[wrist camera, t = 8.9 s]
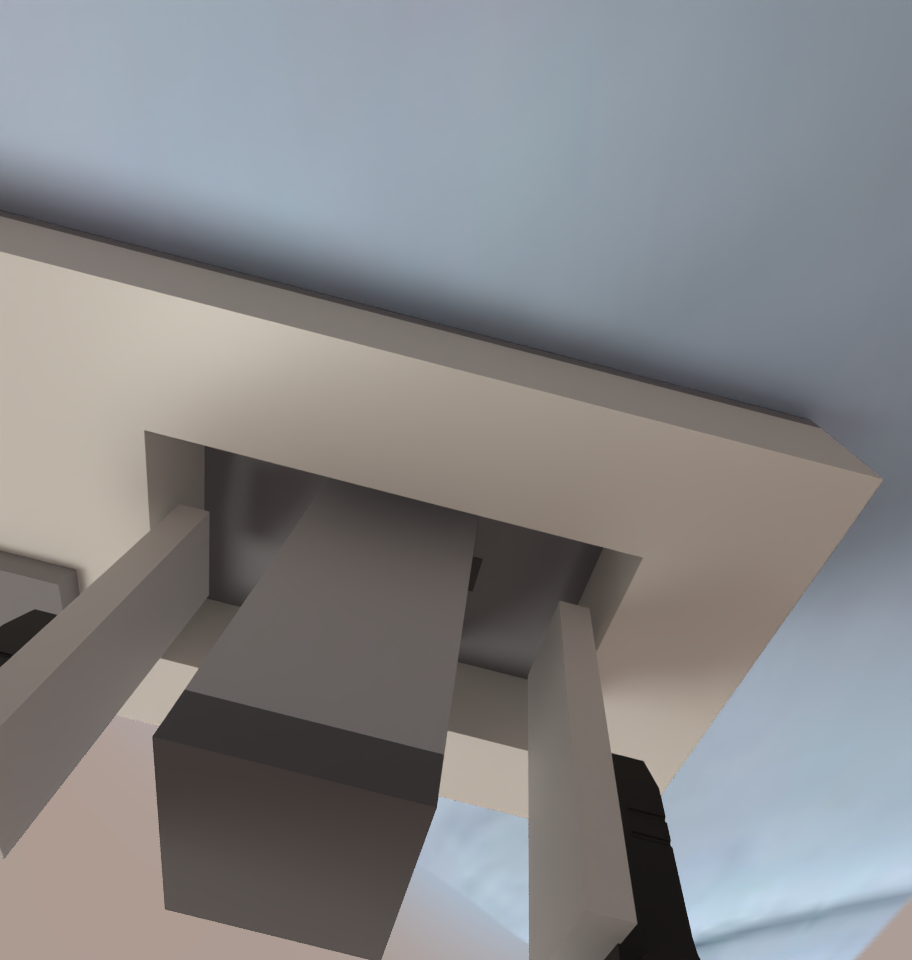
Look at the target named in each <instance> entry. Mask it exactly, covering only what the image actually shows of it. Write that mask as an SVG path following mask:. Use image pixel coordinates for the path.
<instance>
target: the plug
mask: <svg viewBox="0 0 912 960" xmlns="http://www.w3.org/2000/svg"><path fill="white" fill-rule="evenodd" d="M477 523H478V515H475V514H471V513H467V512H463V511H459V510H455V509H451V508H447V507H443V506H439V505H435V504H432V503H428V502H424V501H420V500H416V499H412V498H408V497H404V496H400V495H396V494H392V493H388V492H385V491H381V490H377V489H373V488H369V487H365V486H361V485H357V484H353V483H349V482H345V481H342V480H338V479H334V478H330V477H329V478H328V479H327V481H326V482H325V483H324V485H323V486H322V488H321V489H320V491H319V492H318V494H317V495H316V497H315V498H314V500H313V501H312V503H311V504H310V506H309V507H308V508H307V510H306V511H305V513H304V514H303V516H302V517H301V519H300V520H299V522H298V523H297V525H296V526H295V528H294V529H293V531H292V532H291V534H290V535H289V536H288V538H287V539H286V541H285V542H284V544H283V545H282V547H281V548H280V550H279V551H278V553H277V554H276V556H275V557H274V559H273V560H272V561H271V563H270V564H269V566H268V567H267V569H266V570H265V572H264V573H263V575H262V576H261V578H260V579H259V581H258V582H257V584H256V585H255V586H254V588H253V589H252V591H251V592H250V594H249V595H248V597H247V598H246V600H245V601H244V603H243V604H242V606H241V607H240V609H239V610H238V611H237V613H236V614H235V616H234V617H233V619H232V620H231V622H230V623H229V625H228V626H227V628H226V629H225V631H224V632H223V634H222V635H221V636H220V638H219V639H218V641H217V642H216V644H215V645H214V647H213V648H212V650H211V651H210V653H209V654H208V656H207V657H206V659H205V660H204V661H203V663H202V664H201V666H200V667H199V669H198V670H197V672H196V673H195V675H194V676H193V678H192V679H191V681H190V682H189V684H188V685H187V687H186V688H185V689H184V691H183V692H182V694H181V695H180V697H179V698H178V700H177V701H176V703H175V704H174V706H173V707H172V709H171V710H170V712H169V713H168V714H167V716H166V717H165V719H164V720H163V722H162V723H161V725H160V726H159V728H158V729H157V731H156V732H155V734H154V735H153V750H154V765H155V779H156V792H157V806H158V818H159V819H158V820H159V834H160V847H161V860H162V875H163V887H164V902H165V909H166V910H170V911H174V912H178V913H183V914H186V915H191V916H195V917H199V918H203V919H207V920H211V921H215V922H219V923H223V924H227V925H231V926H235V927H239V928H243V929H248V930H251V931H255V932H259V933H264V934H267V935H271V936H276V937H280V938H284V939H288V940H292V941H296V942H300V943H304V944H308V945H312V946H316V947H320V948H324V949H328V950H332V951H336V952H341V953H344V954H349V955H352V956H357V957H361V958H365V959H369V960H381V959H382V956H383V953H384V950H385V948H386V945H387V942H388V940H389V937H390V934H391V931H392V929H393V926H394V923H395V920H396V917H397V915H398V912H399V909H400V907H401V904H402V901H403V898H404V896H405V893H406V890H407V888H408V885H409V882H410V879H411V876H412V874H413V871H414V868H415V866H416V863H417V860H418V857H419V855H420V852H421V849H422V846H423V844H424V841H425V838H426V836H427V833H428V830H429V827H430V825H431V822H432V819H433V816H434V814H435V811H436V808H437V802H438V795H439V788H440V781H441V774H442V767H443V760H444V753H445V746H446V739H447V732H448V725H449V718H450V711H451V704H452V697H453V690H454V683H455V676H456V669H457V662H458V655H459V648H460V641H461V634H462V627H463V620H464V614H465V607H466V600H467V593H468V586H469V579H470V572H471V565H472V558H473V551H474V544H475V537H476V530H477Z"/></svg>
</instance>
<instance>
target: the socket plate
mask: <svg viewBox="0 0 912 960" xmlns="http://www.w3.org/2000/svg"><path fill="white" fill-rule="evenodd" d="M329 477H330V478H334V479H338V480H342V481H345V482H349V483H353V484H357V485H361V486H365V487H369V488H373V489H377V490H381V491H385V492H388V493H392V494H396V495H400V496H404V497H408V498H412V499H416V500H420V501H424V502H428V503H432V504H435V505H439V506H443V507H447V508H451V509H455V510H459V511H463V512H467V513H471V514H475V515H478V523H477V530H476V537H475V544H474V551H473V558H472V565H471V572H470V579H469V586H468V593H467V600H466V607H465V614H464V620H463V627H462V634H461V641H460V648H459V655H458V662H457V669H456V676H455V683H454V690H453V697H452V704H451V711H450V718H449V725H448V732H447V739H446V746H445V753H444V760H443V767H442V774H441V781H440V788H439V795H438V796H440V797H444V798H448V799H452V800H456V801H460V802H464V803H468V804H472V805H476V806H480V807H484V808H488V809H492V810H496V811H500V812H504V813H508V814H512V815H516V816H520V817H524V818H528V819H529V812H528V674H529V672H530V670H531V667H532V665H533V662H534V660H535V658H536V655H537V653H538V651H539V648H540V646H541V643H542V641H543V639H544V636H545V634H546V632H547V629H548V627H549V625H550V622H551V620H552V617H553V615H554V613H555V610H556V608H557V606H558V603H559V601H563V602H566V603H570V604H574V605H578V606H582V607H586V608H589V609H590V616H591V622H592V629H593V635H594V642H595V649H596V655H597V662H598V668H599V675H600V681H601V688H602V695H603V701H604V708H605V714H606V721H607V728H608V734H609V741H610V747H611V753H614V754H618V755H622V756H626V757H630V758H634V759H638V760H642V761H644V762H645V764H646V766H647V768H648V770H649V771H650V773H651V775H652V777H653V778H654V780H655V782H656V784H657V785H658V787H659V790H660V795H662V793H663V792H664V791H665V789H666V788H667V786H668V785H669V783H670V782H671V781H672V779H673V778H674V776H675V775H676V774H677V772H678V771H679V769H680V768H681V766H682V765H683V764H684V762H685V761H686V759H687V758H688V757H689V755H690V754H691V752H692V751H693V749H694V748H695V747H696V745H697V744H698V742H699V741H700V739H701V738H702V737H703V735H704V734H705V732H706V731H707V730H708V728H709V727H710V725H711V724H712V722H713V721H714V720H715V718H716V717H717V715H718V714H719V713H720V711H721V710H722V708H723V707H724V705H725V704H726V703H727V701H728V700H729V698H730V697H731V695H732V694H733V693H734V691H735V690H736V688H737V687H738V686H739V684H740V683H741V681H742V680H743V678H744V677H745V676H746V674H747V673H748V671H749V670H750V669H751V667H752V666H753V664H754V663H755V661H756V660H757V659H758V657H759V656H760V654H761V653H762V651H763V650H764V649H765V647H766V646H767V644H768V643H769V642H770V640H771V639H772V637H773V636H774V634H775V633H776V632H777V630H778V629H779V627H780V626H781V625H782V623H783V622H784V620H785V619H786V617H787V616H788V615H789V613H790V612H791V610H792V609H793V607H794V606H795V605H796V603H797V602H798V600H799V599H800V598H801V596H802V595H803V593H804V592H805V590H806V589H807V588H808V586H809V585H810V583H811V582H812V581H813V579H814V578H815V576H816V575H817V573H818V572H819V571H820V569H821V568H822V566H823V565H824V564H825V562H826V561H827V559H828V558H829V556H830V555H831V554H832V552H833V551H834V549H835V548H836V546H837V545H838V544H839V542H840V541H841V539H842V538H843V537H844V535H845V534H846V532H847V531H848V529H849V528H850V527H851V525H852V524H853V522H854V521H855V520H856V518H857V517H858V515H859V514H860V512H861V511H862V510H863V508H864V507H865V505H866V504H867V502H868V501H869V500H870V498H871V497H872V495H873V494H874V493H875V491H876V490H877V488H878V487H879V485H880V484H881V483H882V481H883V480H884V479H883V478H881V477H880V476H879V475H878V474H876V473H875V472H874V471H873V470H871V469H870V468H869V467H868V466H867V465H865V464H864V463H863V462H862V461H860V460H859V459H858V458H857V457H855V456H854V455H853V454H852V453H851V452H849V451H848V450H847V449H846V448H844V447H843V446H842V445H841V444H840V443H838V442H837V441H836V440H835V439H833V438H832V437H831V436H830V435H828V434H827V433H826V432H825V431H824V430H822V429H821V428H820V427H819V426H817V425H816V424H815V423H814V422H812V421H811V420H808V419H804V418H800V417H796V416H792V415H789V414H785V413H781V412H777V411H773V410H769V409H765V408H762V407H758V406H754V405H750V404H746V403H742V402H738V401H734V400H731V399H727V398H723V397H719V396H715V395H711V394H707V393H704V392H700V391H696V390H692V389H688V388H684V387H680V386H677V385H673V384H669V383H665V382H661V381H657V380H653V379H649V378H646V377H642V376H638V375H634V374H630V373H626V372H622V371H619V370H615V369H611V368H607V367H603V366H599V365H595V364H592V363H588V362H584V361H580V360H576V359H572V358H568V357H564V356H561V355H557V354H553V353H549V352H545V351H541V350H537V349H534V348H530V347H526V346H522V345H518V344H514V343H510V342H506V341H503V340H499V339H495V338H491V337H487V336H483V335H479V334H476V333H472V332H468V331H464V330H460V329H456V328H452V327H449V326H445V325H441V324H437V323H433V322H429V321H425V320H421V319H418V318H414V317H410V316H406V315H402V314H398V313H394V312H391V311H387V310H383V309H379V308H375V307H371V306H367V305H364V304H360V303H356V302H352V301H348V300H344V299H340V298H336V297H333V296H329V295H325V294H321V293H317V292H313V291H309V290H306V289H302V288H298V287H294V286H290V285H286V284H282V283H278V282H275V281H271V280H267V279H263V278H259V277H255V276H251V275H248V274H244V273H240V272H236V271H232V270H228V269H224V268H221V267H217V266H213V265H209V264H205V263H201V262H197V261H193V260H190V259H186V258H182V257H178V256H174V255H170V254H166V253H163V252H159V251H155V250H151V249H147V248H143V247H139V246H136V245H132V244H128V243H124V242H120V241H116V240H112V239H108V238H105V237H101V236H97V235H93V234H89V233H85V232H81V231H78V230H74V229H70V228H66V227H62V226H58V225H54V224H50V223H47V222H43V221H39V220H35V219H31V218H27V217H23V216H20V215H16V214H12V213H8V212H4V211H0V627H1V626H2V625H3V624H5V623H7V622H9V621H11V620H13V619H15V618H17V617H19V616H21V615H23V614H26V613H28V612H30V611H32V610H34V609H36V610H40V611H44V612H48V613H52V614H56V615H58V614H59V613H60V612H61V611H63V610H64V609H65V608H66V607H67V606H68V605H69V604H70V603H71V602H72V601H74V600H75V599H76V598H77V597H78V596H79V595H80V594H81V593H82V592H83V591H84V590H86V589H87V588H88V587H89V586H90V585H91V584H92V583H93V582H94V581H95V580H97V579H98V578H99V577H100V576H101V575H102V574H103V573H104V572H105V571H106V570H107V569H109V568H110V567H111V566H112V565H113V564H114V563H115V562H116V561H117V560H118V559H120V558H121V557H122V556H123V555H124V554H125V553H126V552H127V551H128V550H129V549H130V548H132V547H133V546H134V545H135V544H136V543H137V542H138V541H139V540H140V539H141V538H143V537H144V536H145V535H146V534H147V533H148V532H149V531H150V530H151V529H152V528H153V527H155V526H156V525H157V524H158V523H159V522H160V521H161V520H162V519H163V518H164V517H166V516H167V515H168V514H169V513H170V512H171V511H172V510H173V509H174V508H175V507H176V506H178V505H179V504H181V505H185V506H189V507H193V508H197V509H201V510H205V511H209V596H208V597H207V598H206V600H205V601H204V602H203V604H202V605H201V606H200V607H199V609H198V610H197V611H196V613H195V614H194V615H193V616H192V618H191V619H190V620H189V622H188V623H187V624H186V625H185V627H184V628H183V629H182V631H181V632H180V633H179V634H178V636H177V637H176V638H175V640H174V641H173V642H172V643H171V645H170V646H169V647H168V649H167V650H166V651H165V652H164V654H163V655H162V656H161V658H160V659H159V660H158V661H157V663H156V664H155V665H154V667H153V668H152V669H151V670H150V672H149V673H148V674H147V676H146V677H145V678H144V679H143V681H142V682H141V683H140V685H139V686H138V687H137V689H136V690H135V691H134V692H133V694H132V695H131V696H130V698H129V699H128V700H127V701H126V703H125V704H124V705H123V707H122V708H121V709H120V710H119V712H118V713H117V714H116V715H117V716H121V717H125V718H129V719H133V720H137V721H141V722H145V723H149V724H153V725H157V726H160V725H161V723H162V722H163V720H164V719H165V717H166V716H167V714H168V713H169V712H170V710H171V709H172V707H173V706H174V704H175V703H176V701H177V700H178V698H179V697H180V695H181V694H182V692H183V691H184V689H185V688H186V687H187V685H188V684H189V682H190V681H191V679H192V678H193V676H194V675H195V673H196V672H197V670H198V669H199V667H200V666H201V664H202V663H203V661H204V660H205V659H206V657H207V656H208V654H209V653H210V651H211V650H212V648H213V647H214V645H215V644H216V642H217V641H218V639H219V638H220V636H221V635H222V634H223V632H224V631H225V629H226V628H227V626H228V625H229V623H230V622H231V620H232V619H233V617H234V616H235V614H236V613H237V611H238V610H239V609H240V607H241V606H242V604H243V603H244V601H245V600H246V598H247V597H248V595H249V594H250V592H251V591H252V589H253V588H254V586H255V585H256V584H257V582H258V581H259V579H260V578H261V576H262V575H263V573H264V572H265V570H266V569H267V567H268V566H269V564H270V563H271V561H272V560H273V559H274V557H275V556H276V554H277V553H278V551H279V550H280V548H281V547H282V545H283V544H284V542H285V541H286V539H287V538H288V536H289V535H290V534H291V532H292V531H293V529H294V528H295V526H296V525H297V523H298V522H299V520H300V519H301V517H302V516H303V514H304V513H305V511H306V510H307V508H308V507H309V506H310V504H311V503H312V501H313V500H314V498H315V497H316V495H317V494H318V492H319V491H320V489H321V488H322V486H323V485H324V483H325V482H326V481H327V479H328V478H329Z"/></svg>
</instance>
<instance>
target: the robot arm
mask: <svg viewBox="0 0 912 960" xmlns="http://www.w3.org/2000/svg"><path fill="white" fill-rule="evenodd" d="M208 596H209V511H205V510H201V509H197V508H193V507H189V506H185V505H181V504H179V505H178V506H176V507H175V508H174V509H173V510H172V511H171V512H170V513H169V514H168V515H167V516H166V517H164V518H163V519H162V520H161V521H160V522H159V523H158V524H157V525H156V526H155V527H153V528H152V529H151V530H150V531H149V532H148V533H147V534H146V535H145V536H144V537H143V538H141V539H140V540H139V541H138V542H137V543H136V544H135V545H134V546H133V547H132V548H130V549H129V550H128V551H127V552H126V553H125V554H124V555H123V556H122V557H121V558H120V559H118V560H117V561H116V562H115V563H114V564H113V565H112V566H111V567H110V568H109V569H107V570H106V571H105V572H104V573H103V574H102V575H101V576H100V577H99V578H98V579H97V580H95V581H94V582H93V583H92V584H91V585H90V586H89V587H88V588H87V589H86V590H84V591H83V592H82V593H81V594H80V595H79V596H78V597H77V598H76V599H75V600H74V601H72V602H71V603H70V604H69V605H68V606H67V607H66V608H65V609H64V610H63V611H61V612H60V613H59V614H58V615H56V614H52V613H48V612H44V611H40V610H36V609H34V610H32V611H30V612H28V613H26V614H23V615H21V616H19V617H17V618H15V619H13V620H11V621H9V622H7V623H5V624H3V625H2V626H1V627H0V858H2V859H4V858H5V857H6V856H7V854H8V853H9V852H10V851H11V849H12V848H13V847H14V846H15V844H16V843H17V842H18V840H19V839H20V838H21V837H22V835H23V834H24V833H25V831H26V830H27V829H28V828H29V826H30V825H31V823H32V822H33V821H34V820H35V819H36V817H37V816H38V815H39V813H40V812H41V811H42V810H43V808H44V807H45V806H46V804H47V803H48V802H49V800H50V799H51V798H52V797H53V795H54V794H55V793H56V791H57V790H58V789H59V788H60V786H61V785H62V784H63V782H64V781H65V780H66V779H67V777H68V776H69V775H70V773H71V772H72V771H73V770H74V768H75V767H76V766H77V764H78V763H79V762H80V761H81V759H82V758H83V757H84V755H85V754H86V753H87V752H88V750H89V749H90V748H91V746H92V745H93V744H94V742H95V741H96V740H97V739H98V737H99V736H100V735H101V733H102V732H103V731H104V730H105V728H106V727H107V726H108V725H109V723H110V722H111V721H112V719H113V718H114V717H115V716H116V714H117V713H118V712H119V710H120V709H121V708H122V707H123V705H124V704H125V703H126V701H127V700H128V699H129V698H130V696H131V695H132V694H133V692H134V691H135V690H136V689H137V687H138V686H139V685H140V683H141V682H142V681H143V679H144V678H145V677H146V676H147V674H148V673H149V672H150V670H151V669H152V668H153V667H154V665H155V664H156V663H157V661H158V660H159V659H160V658H161V656H162V655H163V654H164V652H165V651H166V650H167V649H168V647H169V646H170V645H171V643H172V642H173V641H174V640H175V638H176V637H177V636H178V634H179V633H180V632H181V631H182V629H183V628H184V627H185V625H186V624H187V623H188V622H189V620H190V619H191V618H192V616H193V615H194V614H195V613H196V611H197V610H198V609H199V607H200V606H201V605H202V604H203V602H204V601H205V600H206V598H207V597H208ZM528 812H529V960H700V958H699V956H698V954H697V951H696V948H695V944H694V941H693V938H692V934H691V929H690V925H689V920H688V916H687V911H686V907H685V902H684V898H683V893H682V889H681V884H680V880H679V875H678V871H677V866H676V862H675V857H674V853H673V848H672V847H671V846H670V842H671V839H670V835H669V830H668V826H667V823H666V822H665V813H664V808H663V804H662V799H661V795H660V790H659V787H658V785H657V784H656V782H655V780H654V778H653V777H652V775H651V773H650V771H649V770H648V768H647V766H646V764H645V762H644V761H642V760H638V759H634V758H630V757H626V756H622V755H618V754H614V753H611V747H610V741H609V734H608V728H607V721H606V714H605V708H604V701H603V695H602V688H601V681H600V675H599V668H598V662H597V655H596V649H595V642H594V635H593V629H592V622H591V616H590V609H589V608H586V607H582V606H578V605H574V604H570V603H566V602H563V601H559V603H558V606H557V608H556V610H555V613H554V615H553V617H552V620H551V622H550V625H549V627H548V629H547V632H546V634H545V636H544V639H543V641H542V643H541V646H540V648H539V651H538V653H537V655H536V658H535V660H534V662H533V665H532V667H531V670H530V672H529V674H528Z"/></svg>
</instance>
